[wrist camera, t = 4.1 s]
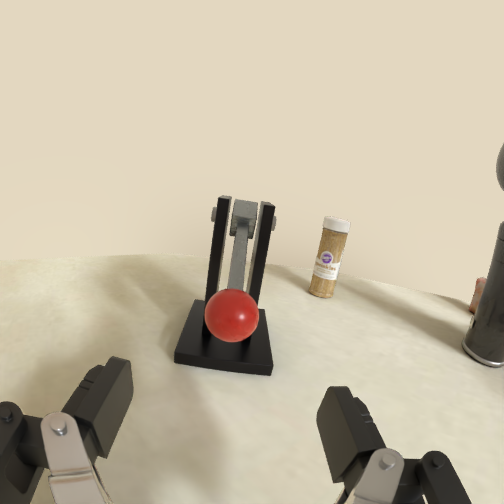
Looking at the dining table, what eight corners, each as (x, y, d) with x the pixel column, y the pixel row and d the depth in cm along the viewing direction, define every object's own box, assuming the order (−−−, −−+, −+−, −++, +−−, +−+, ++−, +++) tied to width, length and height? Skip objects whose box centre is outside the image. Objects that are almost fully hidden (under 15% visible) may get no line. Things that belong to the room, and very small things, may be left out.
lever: (253, 354, 18) (262, 327, 16) (200, 347, 18) (200, 318, 15) (259, 227, 29) (266, 198, 26) (224, 222, 28) (228, 192, 26)
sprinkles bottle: (307, 295, 46) (324, 216, 43) (309, 286, 50) (324, 214, 47) (333, 301, 45) (352, 222, 42) (333, 292, 49) (350, 220, 46)
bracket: (270, 376, 24) (307, 215, 20) (173, 362, 23) (186, 196, 20) (262, 317, 35) (284, 203, 32) (193, 308, 35) (207, 191, 31)
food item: (462, 309, 48) (476, 268, 46) (475, 307, 51) (487, 270, 48) (504, 333, 36) (521, 289, 33) (513, 329, 38) (528, 288, 36)
